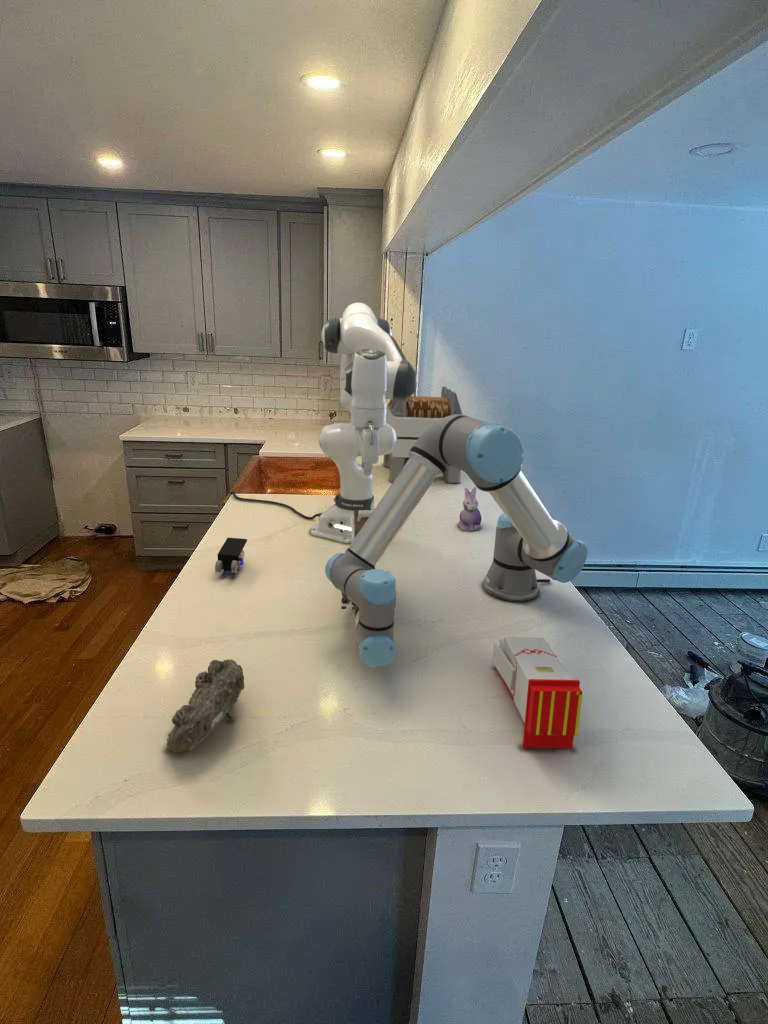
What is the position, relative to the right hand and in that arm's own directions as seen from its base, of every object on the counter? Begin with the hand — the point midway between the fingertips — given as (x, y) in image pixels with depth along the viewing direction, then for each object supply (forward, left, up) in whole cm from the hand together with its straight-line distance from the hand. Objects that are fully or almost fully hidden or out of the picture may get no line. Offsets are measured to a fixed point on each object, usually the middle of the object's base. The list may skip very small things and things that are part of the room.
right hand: (363, 573), depth 154 cm
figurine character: (+37, -17, -7) cm, 42 cm away
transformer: (-38, -123, -7) cm, 129 cm away
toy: (-30, +46, -7) cm, 56 cm away
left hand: (0, -1, +28) cm, 28 cm away
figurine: (-44, -51, -7) cm, 68 cm away
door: (0, 0, +10) cm, 10 cm away
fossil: (+32, +47, -7) cm, 57 cm away
